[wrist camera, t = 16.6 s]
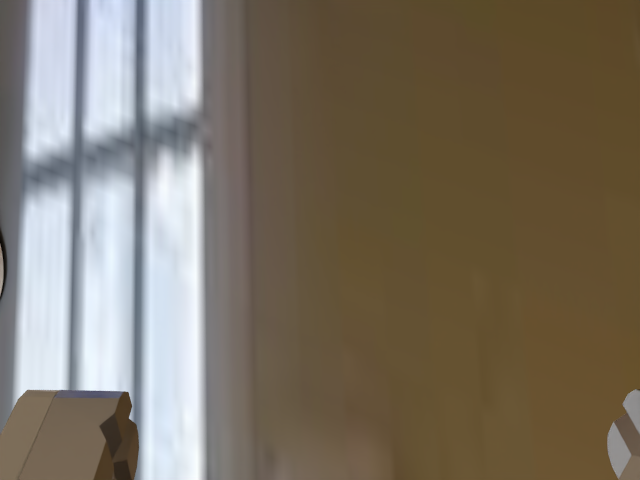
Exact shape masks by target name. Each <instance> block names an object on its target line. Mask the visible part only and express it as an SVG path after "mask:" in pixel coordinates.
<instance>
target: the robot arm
mask: <svg viewBox="0 0 640 480" xmlns="http://www.w3.org/2000/svg"><path fill="white" fill-rule="evenodd" d="M2 285H3V256H2V250H1V245H0V295H1V290H2ZM623 406H624V408H625V410H626V412H627V413H626V414H625V415H623V416H622V417H620V418H619V419H617V420H616V421H614V422H613V424H612V427H611V429H610V431H609V434H608V454H609V457H610V461H611V465H612V467H613V469H614V471H615V473H616V475H617V477H618V479H619V480H640V389H636V390H634V391H632V392H631V393H629V394H628V395H627V397H626V399H625V401H624V403H623ZM131 408H132V404H131V400H130V397H129V393H128V392H120V391H77V390H27V391H26V392H25V393H24V394H23V395H22V396H21V397H20V398H19V399H18V401H17V403H16V405H15V407H14V409H13V411H12V413H11V415H10V417H9V419H8V421H7V423H6V425H5V427H4V429H3V431H2V433H1V435H0V480H134V477H135V472H136V468H137V460H138V451H139V440H138V431H137V426H136V424H135V423H134V422H132V421H131V420H130V419H129V415H130V412H131Z"/></svg>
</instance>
